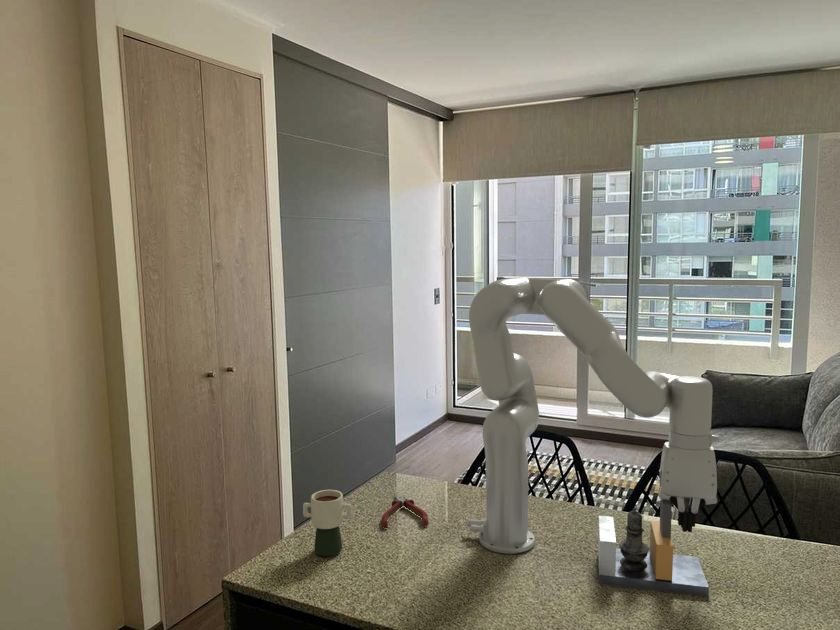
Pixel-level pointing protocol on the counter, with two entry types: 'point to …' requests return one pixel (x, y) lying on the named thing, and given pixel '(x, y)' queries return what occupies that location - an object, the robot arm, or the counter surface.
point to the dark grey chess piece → (634, 543)
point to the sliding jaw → (662, 543)
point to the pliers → (408, 504)
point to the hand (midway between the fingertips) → (686, 529)
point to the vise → (612, 573)
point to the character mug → (327, 520)
